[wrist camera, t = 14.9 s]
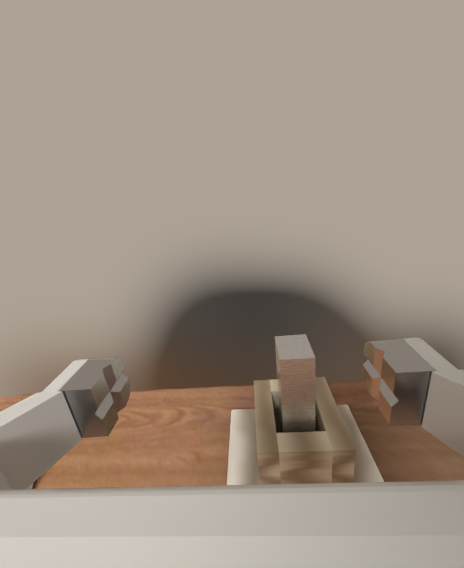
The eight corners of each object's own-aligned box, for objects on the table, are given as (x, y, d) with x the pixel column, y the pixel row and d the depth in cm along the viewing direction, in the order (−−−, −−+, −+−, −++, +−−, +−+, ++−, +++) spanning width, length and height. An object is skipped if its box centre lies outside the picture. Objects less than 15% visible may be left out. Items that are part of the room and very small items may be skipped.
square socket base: (225, 523, 31) (216, 471, 28) (232, 414, 46) (226, 373, 43) (398, 521, 30) (408, 467, 27) (347, 409, 45) (349, 366, 42)
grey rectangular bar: (284, 459, 35) (279, 359, 29) (280, 427, 39) (274, 336, 34) (315, 458, 34) (315, 357, 29) (306, 426, 39) (305, 334, 34)
